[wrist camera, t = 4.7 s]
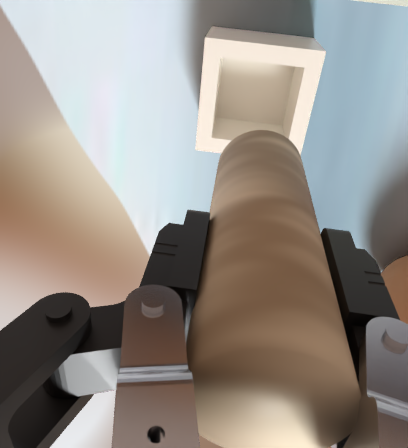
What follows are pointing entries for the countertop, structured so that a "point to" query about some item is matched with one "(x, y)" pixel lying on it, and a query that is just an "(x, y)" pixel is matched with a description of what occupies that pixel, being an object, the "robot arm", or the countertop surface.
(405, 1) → the tray
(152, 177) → the countertop surface
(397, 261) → the egg
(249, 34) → the holder cup
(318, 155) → the countertop surface
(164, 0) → the countertop surface
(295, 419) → the dowel
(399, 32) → the countertop surface
